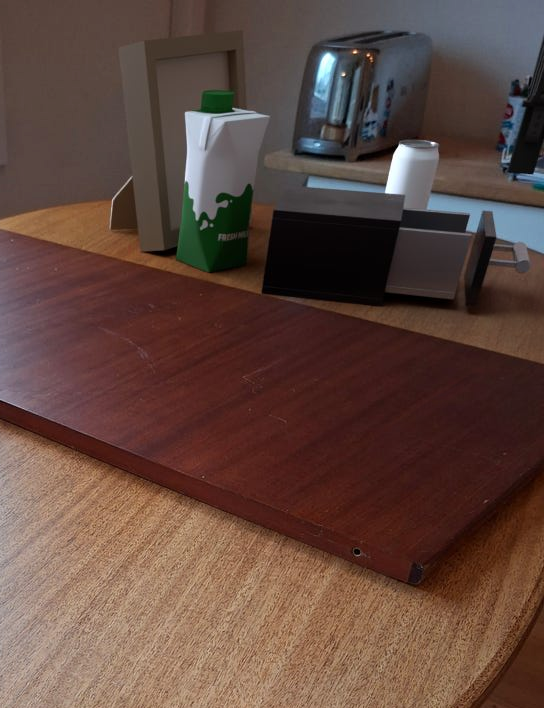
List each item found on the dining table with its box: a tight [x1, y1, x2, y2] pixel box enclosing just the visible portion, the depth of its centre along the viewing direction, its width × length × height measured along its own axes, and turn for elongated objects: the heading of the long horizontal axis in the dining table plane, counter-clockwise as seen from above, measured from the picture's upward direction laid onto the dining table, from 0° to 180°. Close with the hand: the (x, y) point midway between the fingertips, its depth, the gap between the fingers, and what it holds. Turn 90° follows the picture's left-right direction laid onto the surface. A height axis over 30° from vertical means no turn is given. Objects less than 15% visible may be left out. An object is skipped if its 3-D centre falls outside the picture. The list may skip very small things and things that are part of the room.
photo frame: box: [108, 29, 253, 253], centre depth 126 cm, size 15×22×25 cm
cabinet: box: [260, 185, 405, 307], centre depth 112 cm, size 15×14×10 cm
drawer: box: [385, 208, 532, 308], centre depth 108 cm, size 18×13×8 cm
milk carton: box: [175, 90, 271, 273], centre depth 115 cm, size 9×9×20 cm
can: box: [384, 139, 440, 210], centre depth 131 cm, size 6×6×12 cm
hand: (520, 172), depth 101 cm, fingers closed
